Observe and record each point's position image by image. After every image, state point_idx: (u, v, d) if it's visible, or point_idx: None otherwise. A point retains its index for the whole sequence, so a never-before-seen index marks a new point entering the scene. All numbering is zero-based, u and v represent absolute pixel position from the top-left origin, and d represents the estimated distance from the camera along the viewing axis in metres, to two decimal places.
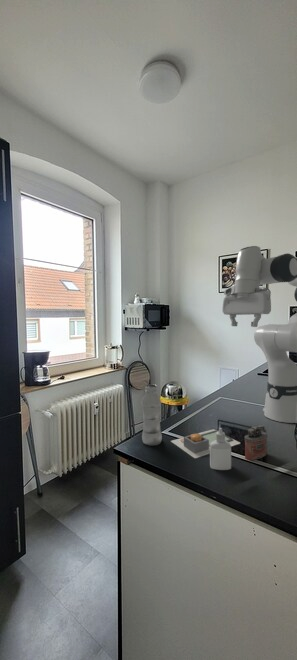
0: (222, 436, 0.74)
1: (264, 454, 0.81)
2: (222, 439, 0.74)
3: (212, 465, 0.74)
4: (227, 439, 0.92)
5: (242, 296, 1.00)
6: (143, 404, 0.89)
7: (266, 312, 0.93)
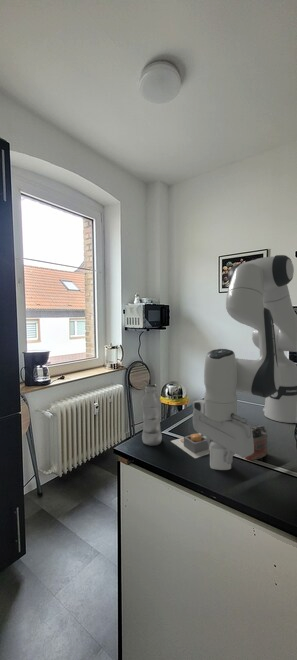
0: None
1: (264, 454, 0.81)
2: None
3: (212, 465, 0.74)
4: None
5: (214, 422, 0.73)
6: (143, 404, 0.89)
7: (247, 455, 0.66)
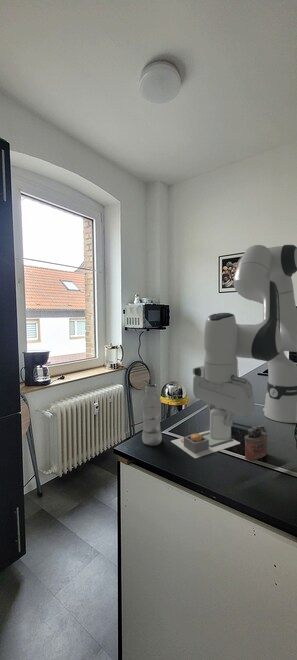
0: None
1: (264, 454, 0.81)
2: None
3: (212, 432, 0.74)
4: None
5: (215, 385, 0.72)
6: (143, 404, 0.89)
7: (248, 415, 0.66)
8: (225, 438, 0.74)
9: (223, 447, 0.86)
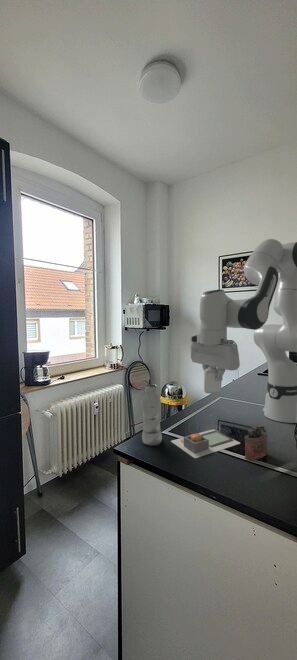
0: None
1: (264, 454, 0.81)
2: None
3: (206, 387, 0.91)
4: (227, 439, 0.92)
5: (208, 347, 0.89)
6: (143, 404, 0.89)
7: (234, 369, 0.83)
8: (216, 392, 0.90)
9: (223, 447, 0.86)
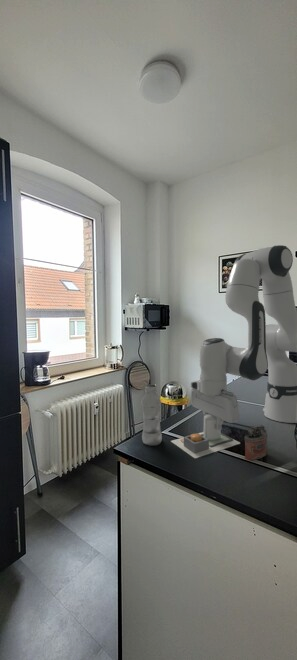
0: None
1: (264, 454, 0.81)
2: None
3: (206, 434, 0.91)
4: (227, 439, 0.92)
5: (208, 397, 0.90)
6: (143, 404, 0.89)
7: (234, 421, 0.83)
8: (217, 438, 0.91)
9: (223, 447, 0.86)
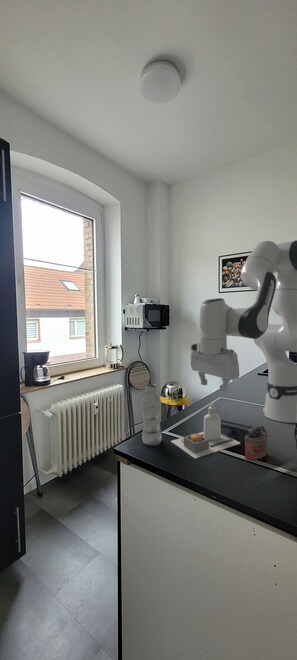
0: (214, 409, 0.91)
1: (264, 454, 0.81)
2: (214, 412, 0.91)
3: (207, 434, 0.91)
4: (227, 439, 0.92)
5: (208, 356, 0.89)
6: (143, 404, 0.89)
7: (234, 378, 0.83)
8: (217, 438, 0.91)
9: (223, 447, 0.86)
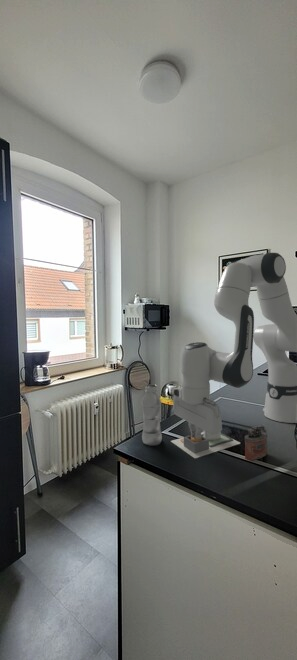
0: None
1: (264, 454, 0.81)
2: None
3: (207, 434, 0.91)
4: (227, 439, 0.92)
5: (190, 405, 0.84)
6: (143, 404, 0.89)
7: (216, 433, 0.77)
8: (217, 438, 0.91)
9: (223, 447, 0.86)
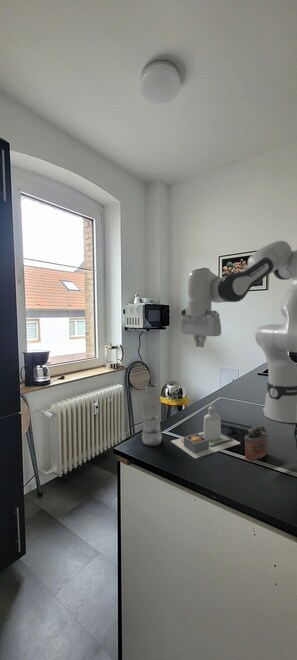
0: (214, 409, 0.91)
1: (264, 454, 0.81)
2: (214, 412, 0.91)
3: (207, 434, 0.91)
4: (227, 439, 0.92)
5: (195, 318, 1.02)
6: (143, 404, 0.89)
7: (216, 335, 0.96)
8: (217, 438, 0.91)
9: (223, 447, 0.86)
